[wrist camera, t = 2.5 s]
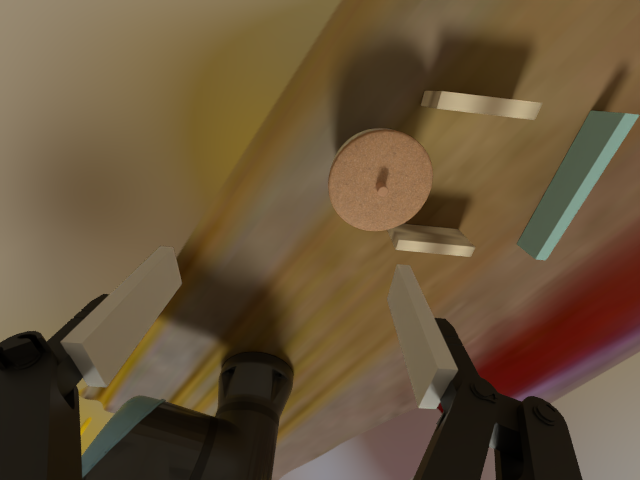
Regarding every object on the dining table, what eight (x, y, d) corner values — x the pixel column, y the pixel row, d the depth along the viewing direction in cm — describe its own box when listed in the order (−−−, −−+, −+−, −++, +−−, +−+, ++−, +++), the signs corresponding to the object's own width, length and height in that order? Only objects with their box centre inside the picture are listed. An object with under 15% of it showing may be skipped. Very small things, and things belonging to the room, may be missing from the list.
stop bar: (516, 244, 39) (535, 259, 36) (591, 110, 30) (625, 113, 27) (526, 245, 39) (545, 260, 36) (603, 111, 30) (639, 115, 27)
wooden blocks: (387, 231, 38) (395, 249, 34) (424, 90, 29) (441, 91, 25) (454, 238, 39) (470, 256, 34) (510, 101, 30) (542, 103, 26)
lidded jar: (310, 157, 33) (306, 180, 25) (385, 100, 30) (407, 105, 22) (356, 219, 38) (365, 255, 29) (426, 175, 34) (457, 202, 26)
